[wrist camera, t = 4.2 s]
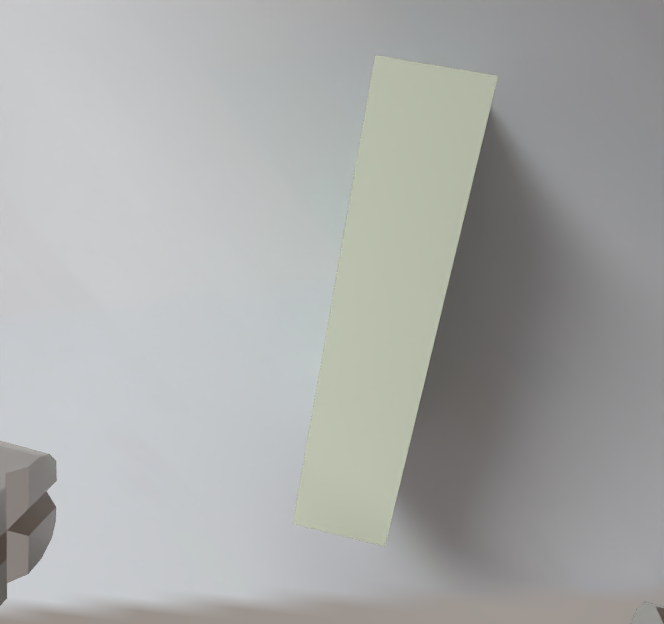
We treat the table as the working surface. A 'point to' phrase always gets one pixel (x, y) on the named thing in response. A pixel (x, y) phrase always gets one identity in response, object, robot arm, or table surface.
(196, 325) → the table surface
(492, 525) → the table surface
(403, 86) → the door panel
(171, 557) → the table surface
